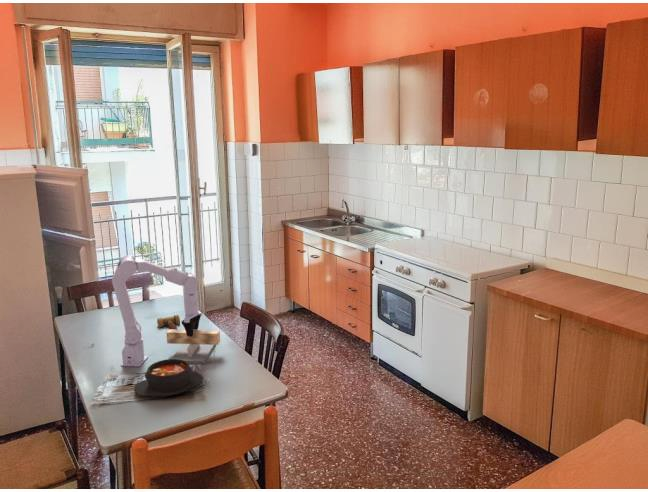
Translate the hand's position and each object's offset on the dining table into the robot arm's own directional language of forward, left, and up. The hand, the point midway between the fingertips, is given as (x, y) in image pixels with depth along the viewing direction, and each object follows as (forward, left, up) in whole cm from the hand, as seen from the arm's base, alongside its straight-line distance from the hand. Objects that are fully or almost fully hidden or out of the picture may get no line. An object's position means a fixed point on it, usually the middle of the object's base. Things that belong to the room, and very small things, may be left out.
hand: (192, 332), depth 230 cm
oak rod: (0, 0, -4) cm, 4 cm away
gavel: (+26, +18, -10) cm, 33 cm away
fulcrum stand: (0, 0, -9) cm, 9 cm away
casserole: (-31, 0, -10) cm, 32 cm away
